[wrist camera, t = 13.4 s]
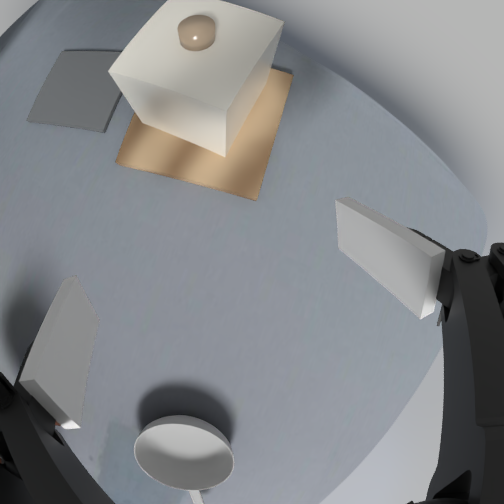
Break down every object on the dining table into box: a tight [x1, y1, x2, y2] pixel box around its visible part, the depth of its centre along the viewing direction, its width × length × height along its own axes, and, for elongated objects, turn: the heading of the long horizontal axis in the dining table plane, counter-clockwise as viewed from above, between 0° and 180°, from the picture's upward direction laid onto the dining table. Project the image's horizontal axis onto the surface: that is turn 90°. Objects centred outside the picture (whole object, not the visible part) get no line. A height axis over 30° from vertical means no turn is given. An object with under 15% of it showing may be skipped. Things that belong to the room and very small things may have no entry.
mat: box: [27, 51, 122, 133], centre depth 25 cm, size 12×10×1 cm
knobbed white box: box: [108, 0, 285, 157], centre depth 20 cm, size 9×9×11 cm
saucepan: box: [134, 415, 234, 504], centre depth 26 cm, size 11×18×4 cm, turn 6°
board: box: [116, 68, 294, 201], centre depth 26 cm, size 14×14×1 cm
